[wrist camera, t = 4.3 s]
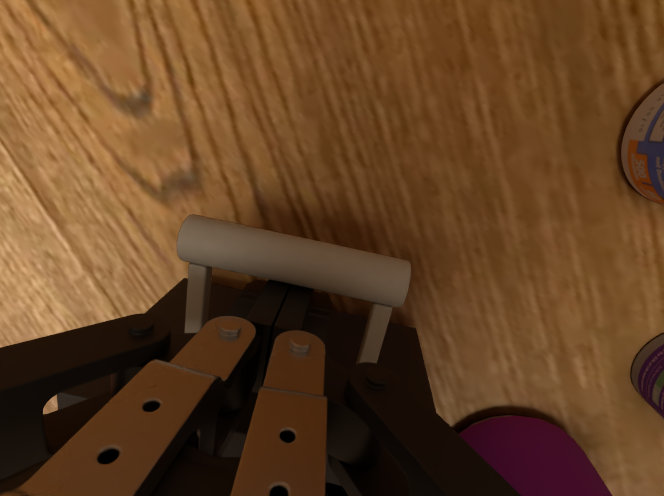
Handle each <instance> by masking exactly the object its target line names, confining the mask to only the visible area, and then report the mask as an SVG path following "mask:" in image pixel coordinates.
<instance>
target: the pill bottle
mask: <svg viewBox="0 0 664 496" xmlns="http://www.w3.org/2000/svg"><path fill="white" fill-rule="evenodd" d="M621 159H622V165H623V169H624V172H625V175H626V177H627V179H628V180H629V182H630V183H631V185H632V186H633V187H634V188H635V189H636V190H637V191H638V192H639V193H640V194H641V195H643V196H644V197H646V198H648V199H650V200H652V201H654V202H657V203H660V204H662V205H664V83H663V84H661V85H660V86H659V87H658V88H656V89H655V90H654V91H653V92H652V93H651V94H650V95H649V96H648V97H647V98H646V99H645V100H644V101H643V102H642V103H641V104H640V106H639V107H638V108H637V110H636V111H635V113H634V114H633V116H632V118H631V120H630V122H629V124H628V126H627V128H626V130H625V133H624V137H623V141H622V148H621Z"/></svg>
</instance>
